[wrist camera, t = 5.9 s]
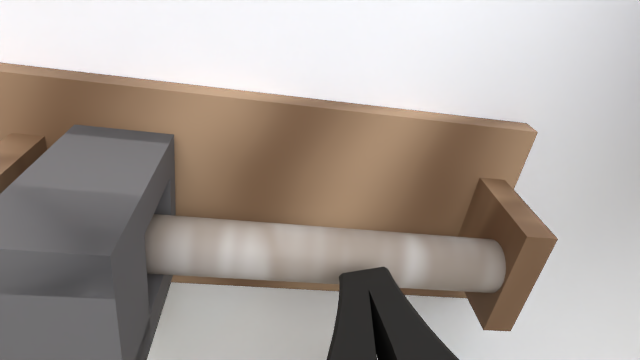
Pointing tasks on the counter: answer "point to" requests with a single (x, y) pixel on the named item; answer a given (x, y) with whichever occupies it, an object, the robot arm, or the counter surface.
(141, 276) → the collar
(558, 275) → the counter surface
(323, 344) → the counter surface
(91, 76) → the towel rail
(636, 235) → the counter surface
